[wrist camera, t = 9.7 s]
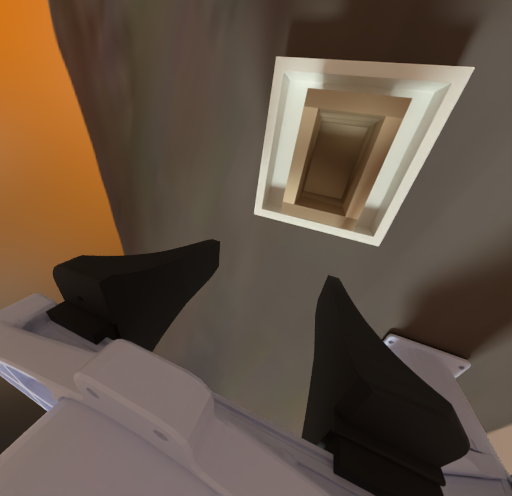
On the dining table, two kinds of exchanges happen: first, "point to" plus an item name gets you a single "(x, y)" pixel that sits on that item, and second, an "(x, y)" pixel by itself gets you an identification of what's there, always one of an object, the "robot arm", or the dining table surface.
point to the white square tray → (402, 149)
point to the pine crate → (340, 154)
